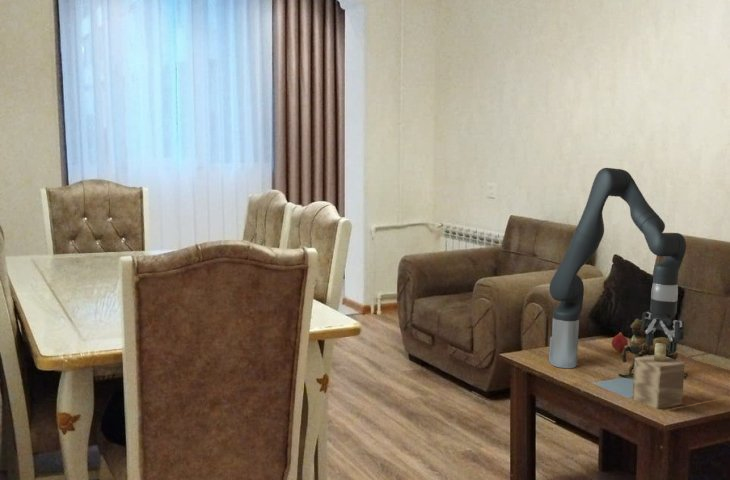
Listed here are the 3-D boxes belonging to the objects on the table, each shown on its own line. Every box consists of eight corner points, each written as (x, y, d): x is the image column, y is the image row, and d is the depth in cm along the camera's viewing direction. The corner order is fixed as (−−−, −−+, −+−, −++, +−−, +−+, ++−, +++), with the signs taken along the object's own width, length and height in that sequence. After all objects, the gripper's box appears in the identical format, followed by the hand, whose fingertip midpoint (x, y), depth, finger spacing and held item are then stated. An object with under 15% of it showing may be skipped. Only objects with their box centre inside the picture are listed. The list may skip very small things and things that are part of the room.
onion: (608, 350, 289) (609, 330, 288) (620, 349, 291) (621, 329, 290) (617, 355, 284) (618, 334, 283) (630, 353, 285) (631, 333, 284)
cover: (632, 399, 234) (635, 342, 232) (655, 395, 239) (659, 338, 236) (657, 410, 225) (661, 350, 223) (681, 405, 230) (686, 346, 227)
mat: (592, 384, 249) (592, 382, 249) (627, 378, 256) (627, 376, 256) (628, 399, 235) (628, 397, 235) (664, 392, 242) (664, 391, 242)
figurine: (610, 370, 264) (613, 314, 262) (678, 370, 266) (681, 314, 264) (626, 380, 251) (630, 321, 249) (697, 380, 253) (701, 322, 251)
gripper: (637, 294, 232) (634, 344, 234) (674, 303, 219) (670, 356, 222) (654, 292, 235) (651, 342, 238) (692, 301, 223) (688, 353, 225)
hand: (660, 349), depth 230 cm, fingers open, 8 cm apart
